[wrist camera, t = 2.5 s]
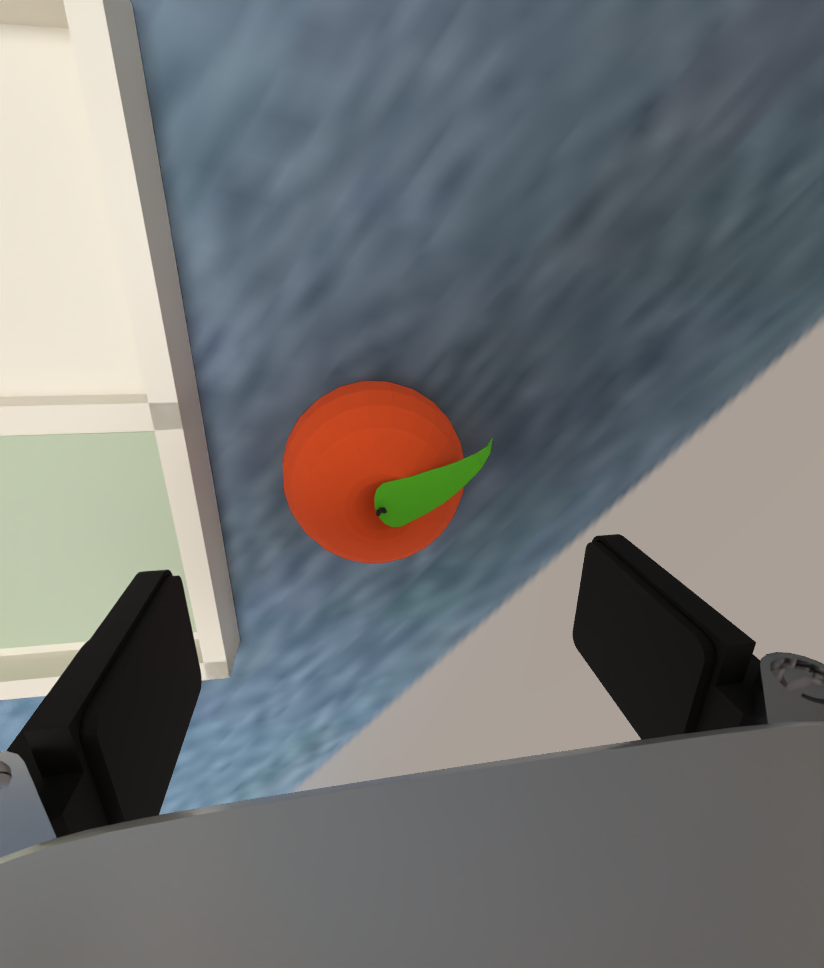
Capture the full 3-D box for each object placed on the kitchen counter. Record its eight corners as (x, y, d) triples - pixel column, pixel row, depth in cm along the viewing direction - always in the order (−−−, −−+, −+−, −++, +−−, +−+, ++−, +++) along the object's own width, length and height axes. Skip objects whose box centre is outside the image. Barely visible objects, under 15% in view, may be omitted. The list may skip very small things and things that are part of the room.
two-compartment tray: (132, 4, 15) (92, -50, 12) (240, 640, 24) (229, 677, 22) (-371, -37, 13) (-526, -108, 11) (-41, 665, 22) (-84, 708, 20)
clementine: (439, 333, 20) (488, 353, 13) (484, 474, 22) (542, 549, 16) (263, 402, 20) (225, 456, 13) (329, 534, 23) (325, 633, 16)
